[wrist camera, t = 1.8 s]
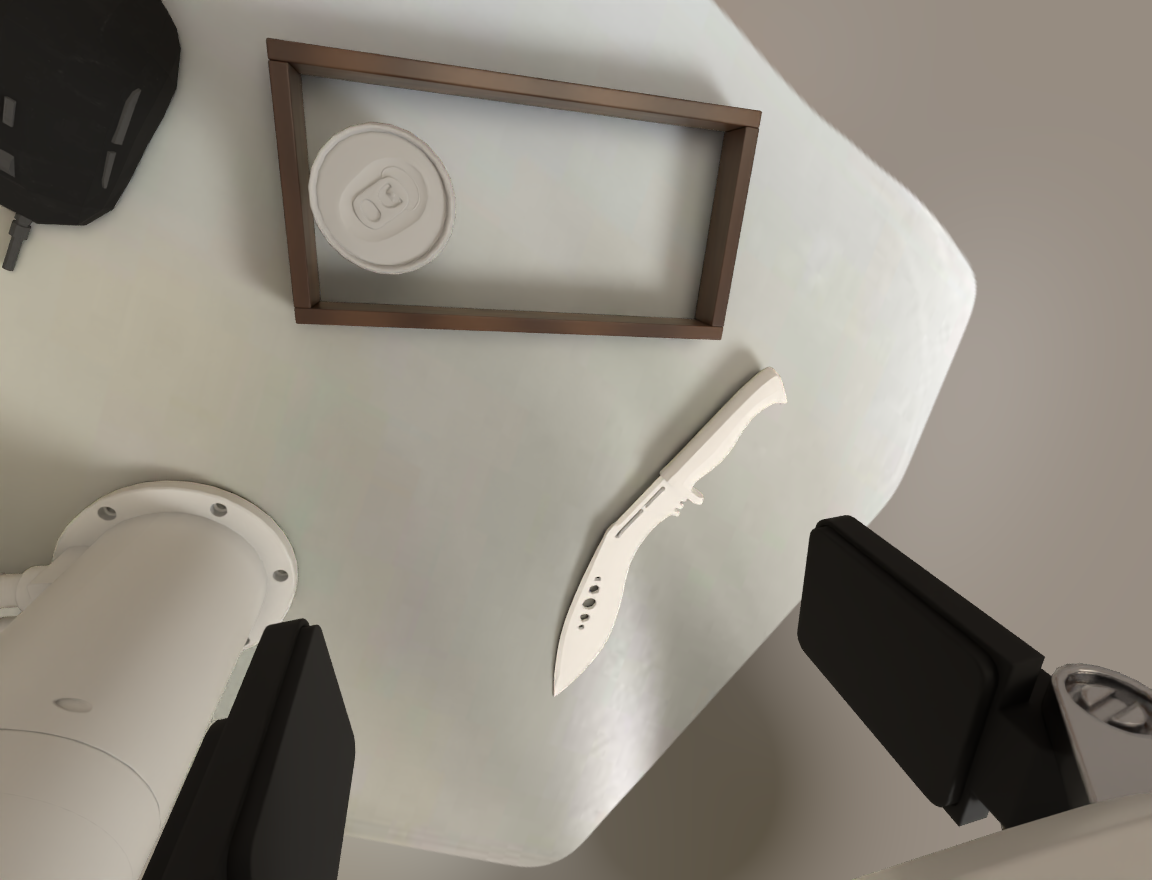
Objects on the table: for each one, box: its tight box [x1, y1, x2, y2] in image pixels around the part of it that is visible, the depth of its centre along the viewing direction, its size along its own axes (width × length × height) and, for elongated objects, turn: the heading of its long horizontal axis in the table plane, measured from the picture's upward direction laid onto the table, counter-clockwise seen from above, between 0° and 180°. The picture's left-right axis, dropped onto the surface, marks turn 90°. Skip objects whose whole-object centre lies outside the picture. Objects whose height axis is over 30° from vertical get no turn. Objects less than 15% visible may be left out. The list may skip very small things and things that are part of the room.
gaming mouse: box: [0, 0, 181, 271], centre depth 23 cm, size 6×15×4 cm, turn 145°
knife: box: [554, 367, 787, 696], centre depth 40 cm, size 30×2×8 cm
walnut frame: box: [266, 38, 762, 340], centre depth 29 cm, size 24×12×2 cm, turn 85°
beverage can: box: [308, 122, 456, 274], centre depth 24 cm, size 5×5×12 cm
